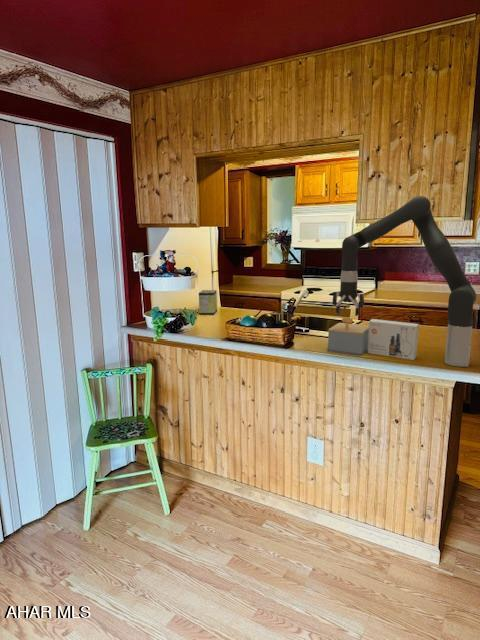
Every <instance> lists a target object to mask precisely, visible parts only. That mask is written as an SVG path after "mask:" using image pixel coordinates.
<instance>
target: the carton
mask: <svg viewBox="0 0 480 640" xmlns="http://www.w3.org/2000/svg"><path fill="white" fill-rule="evenodd" d="M327 333H328V334H327V336H328V337H327V352H330V351H331V352H332V353H337V352H339V353H338V354H346V355H354V356H363V355H364V354H366V351H367V352H368V336H369V329H368V330H367V331H366V332H365V333H363V334H353V333H344V332H335V331H329V330H328V332H327ZM331 352H330V353H331Z"/></svg>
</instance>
